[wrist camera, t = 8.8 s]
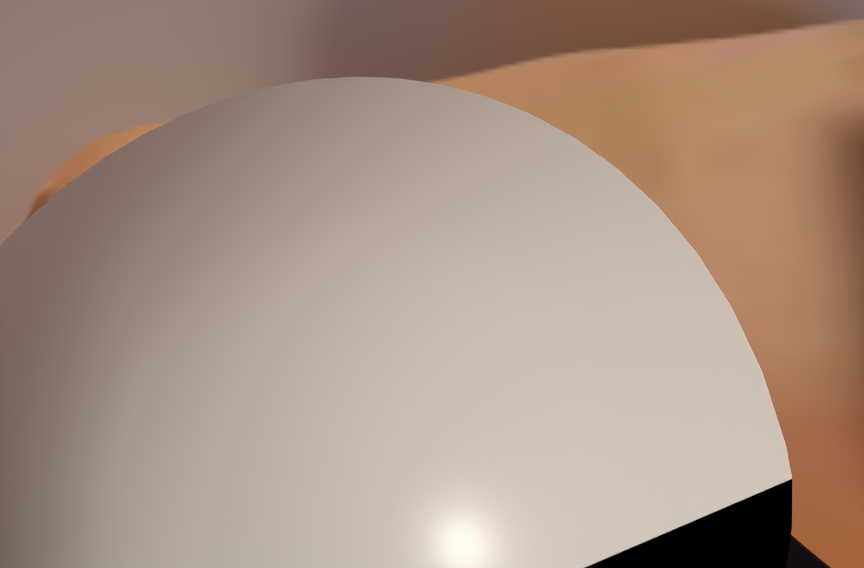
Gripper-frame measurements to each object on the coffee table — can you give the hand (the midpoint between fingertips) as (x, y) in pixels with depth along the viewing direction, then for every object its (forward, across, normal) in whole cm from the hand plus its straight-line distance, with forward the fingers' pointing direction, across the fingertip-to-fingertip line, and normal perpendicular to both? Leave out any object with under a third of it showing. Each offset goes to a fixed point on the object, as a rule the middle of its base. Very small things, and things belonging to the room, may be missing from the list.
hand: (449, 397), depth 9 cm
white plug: (+4, 0, +6) cm, 7 cm away
